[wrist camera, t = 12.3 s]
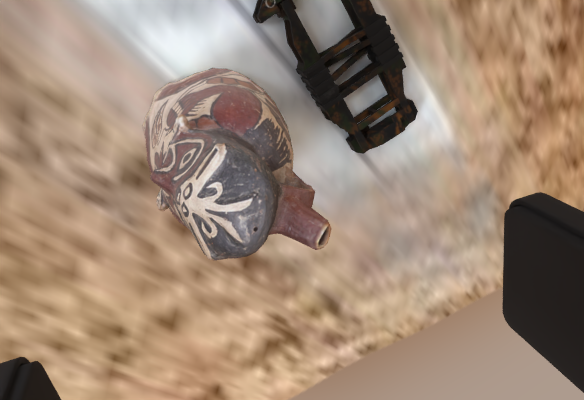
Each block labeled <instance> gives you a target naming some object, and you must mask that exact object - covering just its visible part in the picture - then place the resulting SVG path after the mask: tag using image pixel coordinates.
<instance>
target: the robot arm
mask: <svg viewBox="0 0 584 400" xmlns="http://www.w3.org/2000/svg"><path fill="white" fill-rule="evenodd" d="M503 314H504V318H505V320H506V322H507V323H508V325H509V326H510V327H511V328H512V329H513V330H514V331H515V332H516V333H518V334H519V335H520V336H521V337H522V338H523V339H524V340H525V341H527V342H528V343H529V344H530V345H531V346H532V347H533V348H534V349H535V350H537V351H538V352H539V353H540V354H541V355H542V356H543V357H544V358H546V359H547V360H548V361H549V362H550V363H551V364H552V365H553V366H554V367H556V368H557V369H558V370H559V371H560V372H561V373H562V374H563V375H564V376H565V377H567V378H568V379H569V380H570V381H571V382H572V383H573V384H574V385H575V386H577V387H578V388H579V389H580V390H581V391H582V392H583V393H584V212H582V211H580V210H578V209H576V208H574V207H572V206H570V205H568V204H566V203H564V202H562V201H560V200H558V199H555V198H553V197H551V196H549V195H547V194H545V193H541V192H540V193H535V194H532V195H529V196H525V197H522V198H519V199H516V200H514V201H513V202H512V203H511V204H510V207H509V209H508V210H507V211H506V213H505V217H504V267H503ZM0 400H61V399H60V397H59V395H58V393H57V391H56V390H55V388H54V386H53V384H52V382H51V380H50V379H49V377H48V375H47V373H46V371H45V370H44V368H43V366H42V365H41V363H39V362H38V361H34V362H31V363H30V362H29V360H27V359H26V358H25V357H19V358H16V359H13V360H10V361H7V362H3V363H0Z"/></svg>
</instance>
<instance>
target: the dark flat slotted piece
mask: <svg viewBox="0 0 584 400" xmlns="http://www.w3.org/2000/svg"><path fill="white" fill-rule="evenodd" d="M341 1H342V3H343V5H344V7H345V9H346V11H347V13H348V15H349V17H350V19H351V21H352V23H353V25H354V27H355V29H354V30H352V31H351V32H350V33H349V34H348V35H347V36H345V37H344V38H343V39H342V40H341V41H339V42H338V43H337V44H335V45H334V46H332V47H330V48H328V49H327V50H325V51H323V52H321V53H319V54H318V52H317V50H316V48H315V47H314V45H313V43H312V41H311V39H310V38H309V36H308V34H307V32H306V30H305V28H304V27H303V25H302V23H301V21H300V19H299V18H298V16H297V14H296V12H295V9H296V7H295V5H294V3H293V1H292V0H258V1H257V4H256V7H255V11H254V14H253V18H254V19H255V21H256V23H259V22H260V23H263V22H264V21H266V20H267V19H268V18H270V17H271V16H273V15H274V14H277V16H278V18H283V19H284V22H285V29H286V35H287V41H288V44H289V46H290V48H291V49H292V51H293V53H294V55H295V56H296V58H297V60H298V65H297V69H296V70H297V72H298V74H300V75H301V76H302V77H301V79H302V81H303V82H304V83H306V88H307V89H308V90H309V91H310V92H311V96H312V98H313V99H315V100H316V102H315V103H316V105H317V106H318V107H320V109H321V111H322V112H323V114H324V116H325V118H326V119H328V120H331V121H332V122H333V123H334V124H337V125H338V126H339V127H340V128H342V129H344V130H345V131H346V132H348V134H349V135H350V137H348V138H347V139H346V141H347V142H348V144H349V146H350V148H351V149H352V150H353V151H355V152H357V153H365V152H366V151H368V150H369V149H372V148H375V147H378V146H380V145H382V144H384V143H386V142H387V141H389V140H390V139H392V138H394V137H395V136H397V135H398V134H400V133H401V132H403V131H404V130H405V128H406V126H407V125H408V124H409V123H411V122H412V121H414V120H415V118H416V115H417V112H418V111H417V109H416V107H415V105H414V102H413V101H412V100H409V99H406V97H405V95H404V88H403V74H402V70H403V69H404V68H406V65H405V63H404V61H403V59H402V57H403V55H402V53H401V52H399V50H398V49H399V46H398V44H397V43H395V41H394V39H395V37H394V35H393V34H391V33H390V30H391V29H390V26H389V25H387V24H386V22H385V21H387V20H386V18H385V16H381V15H378V14H376V13H375V10H374V8H373V6H372V4H371V2H370V0H341ZM357 39H359V40H360V43H358V44H356V45H354V46H353V47H351V48H349V49H347V50H345V51H344V52H342V53H340V54H338V55H336V56H334V55H335V54H337V53H338V52H339V51H340V50H342V49H343V48H344V47H345V46H347V45H348V44H350V43H352V42H354V41H356V40H357ZM355 52H356V53H355ZM366 52H367V53H368V55H367V56H368V58H369V60H371V61H372V63H371V64H370V65H368V66H367V67H365V68H364V69H363V70H361V71H360V72H358V73H357V74H355V75H354V76H352V77H351V78H349V79H348V80H347V81H345V82H344V83H342V84H341V85H339V86H338V85H336V84H335V83H334V81H335V80H336V79H337V78H338V77H339V76H341V75H342V74H343V73H344V72H345V71H346V70H347V69H348V68H349V67H350V66H351V65H353V64H354V63H355V62H356V61H357V60H358V59H359V58H360V57H361V56H362V55H364V54H365V53H366ZM353 53H355V54H354V55H353V56H352V57H351V58H350V59H348V60H347V61H346V62H345V63H344V64H343V65H342V66H341V67H340V68H338V69H337V70H336V71H335V72H334V73H333V74H332V75H331V76H330V74H329V72H330V71H329V69H328V67H329V66H331V65H333V64H335V63H337V62H338V61H340V60H342V59H344V58H346V57H348V56H349V55H351V54H353ZM333 56H334V57H333ZM332 57H333V58H332ZM330 58H331V59H330ZM376 75H379V77H380V79H381V81H382V83H383V85H384V87H385V89H386V91H387V93H388V95H386V96H385V97H383V98H382V99H380V100H379V101H377V102H376V103H374V104H373V105H372V106H370V107H369V108H367V109H366V110H364V111H363V112H361V113H360V114H358V115H357V116H356V117H354V118H353V116H352V114H351V112H350V110H349V108H348V107H347V105H346V103H345V101H344V99H343V98H345V97H346V96H348V95H349V94H350V93H352V92H353V91H355V90H356V89H358V88H359V87H361V86H362V85H363V84H365V83H366V82H368V81H369V80H371V79H372V78H374V77H375V76H376ZM360 78H361V79H360ZM347 87H348V88H347ZM390 100H391V101H390ZM389 101H390V102H389ZM387 102H389V103H387ZM386 103H387V104H386ZM385 104H386V105H385ZM383 105H385V106H383ZM382 106H383V107H382ZM380 107H382V108H380ZM394 107H395V109H396V111H397V112H396V113H394V114H393V115H391V116H389V117H387V118H385V119H384V120H382V121H381V122H379V123H377V124H376V125H374V126H373V127H371V128H369V126H368V125H369V124H371V123H372V122H374V121H375V120H376V119H378V118H379V117H381V116H382V115H384V114H385V113H386V112H388V111H389V110H391V109H392V108H394ZM379 108H380V109H379ZM377 109H379V110H377ZM369 115H370V116H369ZM367 116H369V117H367ZM366 117H367V118H366ZM364 118H366V119H364ZM363 119H364V120H363ZM362 120H363V121H362ZM360 121H361V122H360ZM359 122H360V123H359ZM357 123H358V124H357Z"/></svg>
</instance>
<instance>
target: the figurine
mask: <svg viewBox="0 0 584 400" xmlns="http://www.w3.org/2000/svg"><path fill="white" fill-rule="evenodd" d="M143 129H144V132H145V138H146V148H147V161H148V164H149V167H150V171H151V175H150V176H151V180H152V181H153V182H154V183H156V184H157V185H159V186H160V188H161V190H160V192H159V194H158V196H157V201H156V203H157V206H158V208H159V210H161V211H165V210H166V209H167V208H169V209H170V210H171V212H172V214H173V215H174V216H175V217H176V219H177V220H178V221H179V222H180V223H182V224H183V225H184V226H186V227H187V228H188V229H189V230H190V231H191V232H192V234H193V235H194V237H195V239H196V241H197V242H198V244H199V246H200V248H201V249H202V251H203V253H204V254H205V255H206V256H207V257H208V258H209V259H211V260H221V259H227V258H241V257H246V256H249V255H251V254H253V253H255V252H256V251H257V250H258V249H259V248H260V247H261V246H262V245H263V244H264V242H265V241H266V240H267V237H268V235H270V234H277V233H278V234H282V235H285V236H287V237H290V238H292V239H294V240H296V241H299V242H301V243H303V244H305V245H307V246H309V247H311V248H313V249H315V250H318V249H321V248H323V247H324V246H325V245H326V244H327V243H328V240H329V237H330V233H331V226H330V224H329V222H328V220H326V219H325V218H324V217H322V216H321V215H320V214H319V213H317V212H316V211H315V210H313V209H312V208H311V207H312V204H313V199H314V194H315V191H314V190H313V188H312V187H311V186H309V185H307V184H305V183H304V182H303V181H302V180H301V179H300V178H299V177H298V176H297V175H296V174H295V173H294V172H293V171H292V169H293V150H292V145H291V139H290V136H289V132H288V128H287V125H286V123H285V121H284V119H283V117H282V115H281V114H280V112H279V110H278V108H277V106H276V104H275V102H274V101H273V100H272V99H271V98H270V97H269V95H268V94H267V93H266V92H265V91H264V90H263V89H262V88H261V87H259V86H258V85H257V84H255V83H254V82H253V81H252V80H250V79H249V78H248V77H246V76H244V75H242V74H240V73H237V72H234V71H232V70H228V69H216V68H211V69H209V70H206V71H202V72H199V73H195V74H193V75H191V76H189V77H187V78H184V79H182V80H180V81H177V82H175V83H168V84H167V85H165V86H164V87H163V88H161V89H160V90H159V91H157V92H156V94H155V96H154V98H153V103H152V105H151V108H150V110H149V112H148V114H147V115H146V117H145V120H144V123H143Z"/></svg>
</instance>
